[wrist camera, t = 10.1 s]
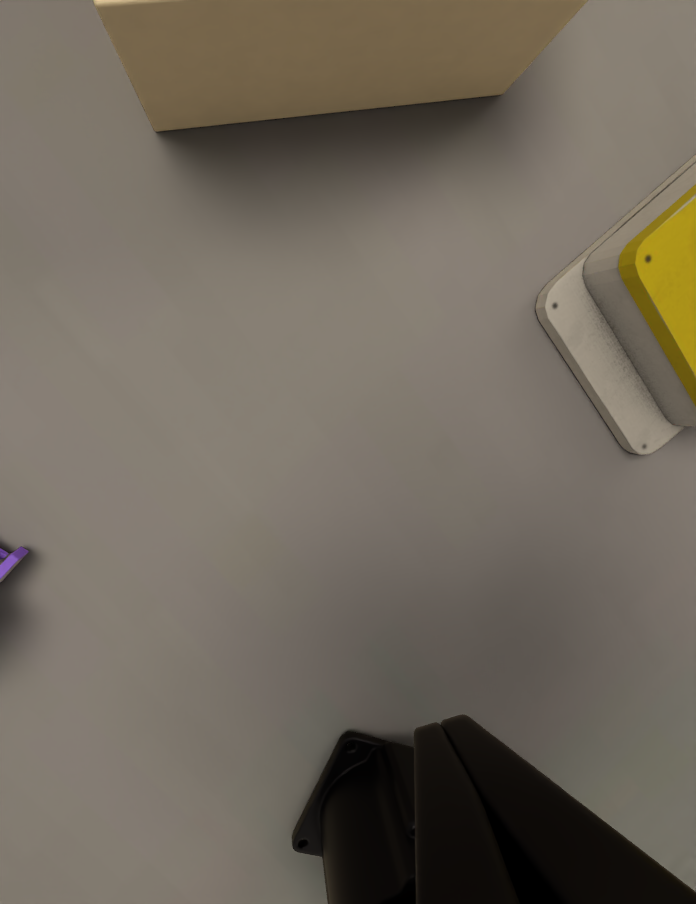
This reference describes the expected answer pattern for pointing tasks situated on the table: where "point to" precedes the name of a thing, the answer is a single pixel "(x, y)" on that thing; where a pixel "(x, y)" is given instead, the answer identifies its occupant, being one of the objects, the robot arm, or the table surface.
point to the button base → (321, 53)
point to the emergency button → (634, 317)
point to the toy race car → (10, 561)
